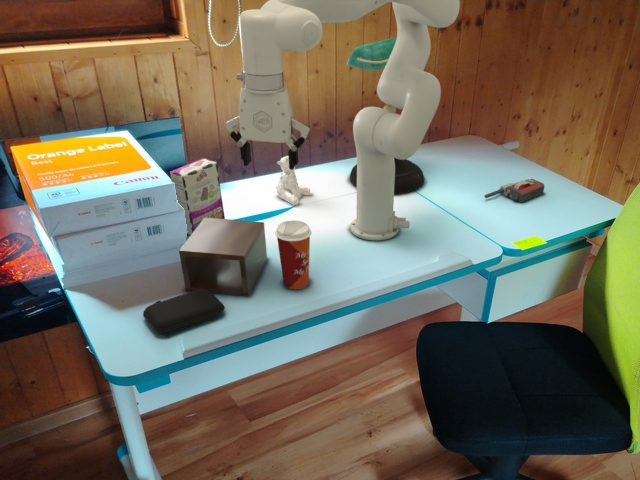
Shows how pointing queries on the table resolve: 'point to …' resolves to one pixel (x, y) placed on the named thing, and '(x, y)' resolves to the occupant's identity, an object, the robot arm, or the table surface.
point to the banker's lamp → (376, 59)
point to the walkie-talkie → (520, 190)
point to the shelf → (224, 256)
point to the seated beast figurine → (289, 184)
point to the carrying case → (183, 311)
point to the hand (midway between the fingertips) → (270, 165)
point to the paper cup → (294, 253)
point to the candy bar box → (198, 192)
